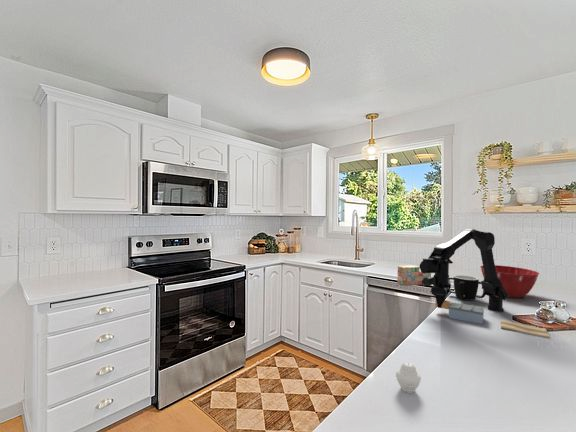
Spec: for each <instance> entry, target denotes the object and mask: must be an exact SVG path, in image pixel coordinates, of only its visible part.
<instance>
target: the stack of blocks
mask: <svg viewBox="0 0 576 432" xmlns="http://www.w3.org/2000/svg"><path fill="white" fill-rule="evenodd" d="M426 277H428V278H429V277H432V273H422V272H421V270H420V266H417V265H398V266H397V284H398V285H401V286H402V287H407V286H408V287H410V286H423V284H422V279H423V278H426Z"/></svg>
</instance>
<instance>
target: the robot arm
mask: <svg viewBox="0 0 576 432" xmlns="http://www.w3.org/2000/svg"><path fill="white" fill-rule="evenodd" d="M495 239H496V238H495V235H494V233H492V232H489V231H480V230H477V229H475V228H465V229H464V230H463V231H462V232H461V233H459V234H458V235H456V236H455V237H454V238H452V239H451V240H448V241H447V242H445V243H440V244H439V245H436V246H434V248H433V250H432V252H431V253H430V255H429V256H428V257H427V258H422V261H421V262H420V263H419V270H421V272H422V273H431V274H433V276H431V277H429V278H428V277H426V278H423V279H422V284H423V285H422V286H423V287H427V286H431V285H432V287H431V288H430V294H432V295H433V296H434V297H435V302H436V301H437V306H438V307H437V308H438V309H442V308H441V306H442V304H443V302H444V300H446V299H447V297H448V294H449V293H450V292H449V291H450V289H451V287H452V284H451V281H450V282H448V278H450V274H449V273H450V272H449V270H450V269H449V267H450V264H454V263H453V261H452V260H451V258H452V257H453V256H454V255H455V252H456V251H457V250H458V249H459V248H460V247H462V246H464V245H465V244H466V243H468V242H470V240H473V241H474V244H475V246H476V247H477V248H478V250H479V251H480V255H481V261H482V263H481V264H482V266H483V269H484V274H485V278H484V277H483V280H481V281H480V282H481V284H480V285H481V289H482V291H483V290H484V293H485V296H488V305H487V310H490V311H496V312H501V313H502V312H504V307H503V304H504V300H506V301H507V300H508V298H509V297H508V294H507V293H506V291H505V290H504V288H503V285H502V282H501V281H500V280H499V279H498V278H497V275H496V269H495V265H496V264H495V259H494V253H493V248H494V246H495V244H496V243H495ZM447 287H449V288H450V289H449V288H447Z"/></svg>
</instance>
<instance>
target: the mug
mask: <svg viewBox="0 0 576 432" xmlns="http://www.w3.org/2000/svg"><path fill="white" fill-rule="evenodd" d="M450 280H451V281H453V290H452V289H451V288H449V287H447V288H449V289H450V291H449V293H451V294H454V295H455V297H456V298H458V299H460V300H463V301H475V300H476V298H477V299H483V298H484V297H486V295H485V293H484V290H483V289H482V294H481V295H479V294H478V291H479V290H478V289H479V285H482V284H481V281H479V278H478V277H475V276H471V275H464V274H462V275H461V274H457V275H454V276H453V277H449V278H448V282H450V283H451V281H450Z"/></svg>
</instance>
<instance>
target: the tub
mask: <svg viewBox="0 0 576 432" xmlns="http://www.w3.org/2000/svg"><path fill="white" fill-rule="evenodd" d="M484 312H485V311H484ZM484 312H483V315H480V314H474V313H469V312H463V311H458V310H452V309H448V318H449V319H452V320H453V319H454V320H458V321H459V320H460V321H463V322H468V323H469V322H470V323H474V324H479V325H484V316H485V315H484Z"/></svg>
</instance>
